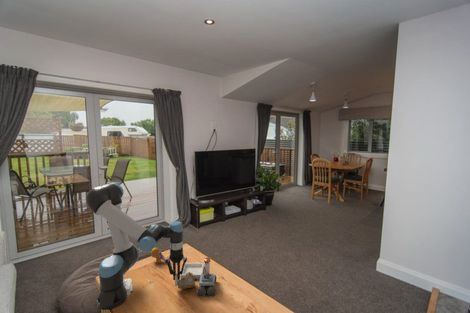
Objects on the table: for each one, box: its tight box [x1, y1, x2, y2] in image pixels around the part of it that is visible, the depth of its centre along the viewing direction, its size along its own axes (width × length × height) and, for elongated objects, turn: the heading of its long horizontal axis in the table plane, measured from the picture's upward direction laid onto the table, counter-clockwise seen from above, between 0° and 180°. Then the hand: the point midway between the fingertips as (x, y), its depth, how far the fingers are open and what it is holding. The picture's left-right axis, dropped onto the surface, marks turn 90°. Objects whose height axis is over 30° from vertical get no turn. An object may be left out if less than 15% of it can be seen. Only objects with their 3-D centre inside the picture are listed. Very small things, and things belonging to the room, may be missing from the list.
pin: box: [203, 257, 211, 279], centre depth 136 cm, size 4×4×12 cm
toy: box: [150, 246, 167, 264], centre depth 164 cm, size 14×8×15 cm
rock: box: [177, 272, 196, 290], centre depth 137 cm, size 12×10×10 cm
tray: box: [180, 262, 205, 280], centre depth 152 cm, size 14×14×3 cm
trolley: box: [196, 273, 217, 298], centre depth 137 cm, size 11×14×8 cm
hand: (176, 284), depth 136 cm, fingers closed
